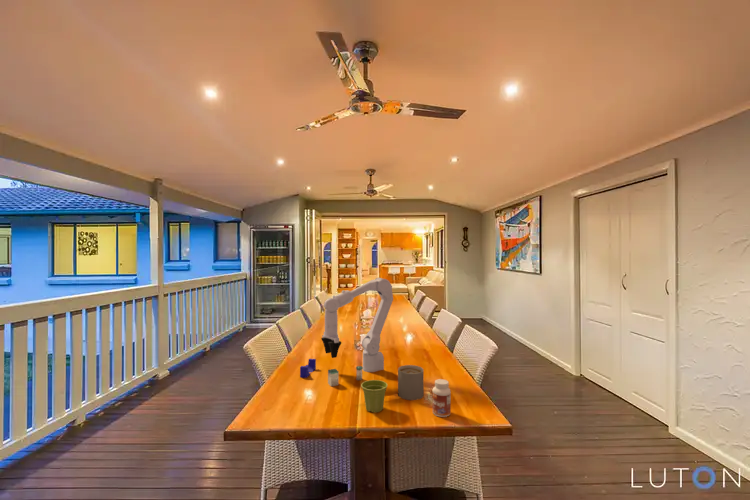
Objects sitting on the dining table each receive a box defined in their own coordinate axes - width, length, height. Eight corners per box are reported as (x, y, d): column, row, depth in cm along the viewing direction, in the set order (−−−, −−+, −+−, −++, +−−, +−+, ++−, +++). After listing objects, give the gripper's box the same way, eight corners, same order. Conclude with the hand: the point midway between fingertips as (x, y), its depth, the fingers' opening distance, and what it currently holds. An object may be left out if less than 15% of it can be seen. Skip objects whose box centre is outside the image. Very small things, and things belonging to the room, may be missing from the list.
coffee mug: (415, 402, 128) (415, 375, 128) (393, 395, 134) (393, 370, 134) (431, 390, 139) (431, 365, 139) (410, 385, 145) (410, 361, 145)
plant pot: (367, 417, 117) (367, 391, 117) (357, 405, 125) (357, 382, 125) (391, 412, 120) (391, 387, 120) (380, 401, 129) (380, 378, 129)
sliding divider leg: (335, 382, 144) (335, 368, 144) (338, 385, 141) (338, 371, 141) (328, 383, 143) (328, 369, 143) (331, 386, 140) (331, 372, 140)
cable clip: (306, 371, 162) (306, 358, 162) (315, 371, 161) (315, 359, 161) (296, 380, 150) (296, 366, 150) (306, 381, 150) (306, 367, 150)
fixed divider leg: (360, 378, 150) (360, 365, 150) (363, 380, 147) (363, 367, 147) (355, 379, 148) (355, 366, 148) (357, 381, 146) (357, 368, 146)
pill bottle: (429, 414, 119) (429, 381, 119) (438, 407, 124) (438, 376, 124) (445, 419, 115) (445, 386, 115) (453, 413, 120) (453, 381, 120)
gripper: (317, 322, 160) (317, 352, 160) (328, 329, 147) (328, 360, 147) (331, 321, 163) (331, 350, 163) (343, 327, 151) (343, 358, 150)
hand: (331, 355), depth 155 cm, fingers open, 7 cm apart
